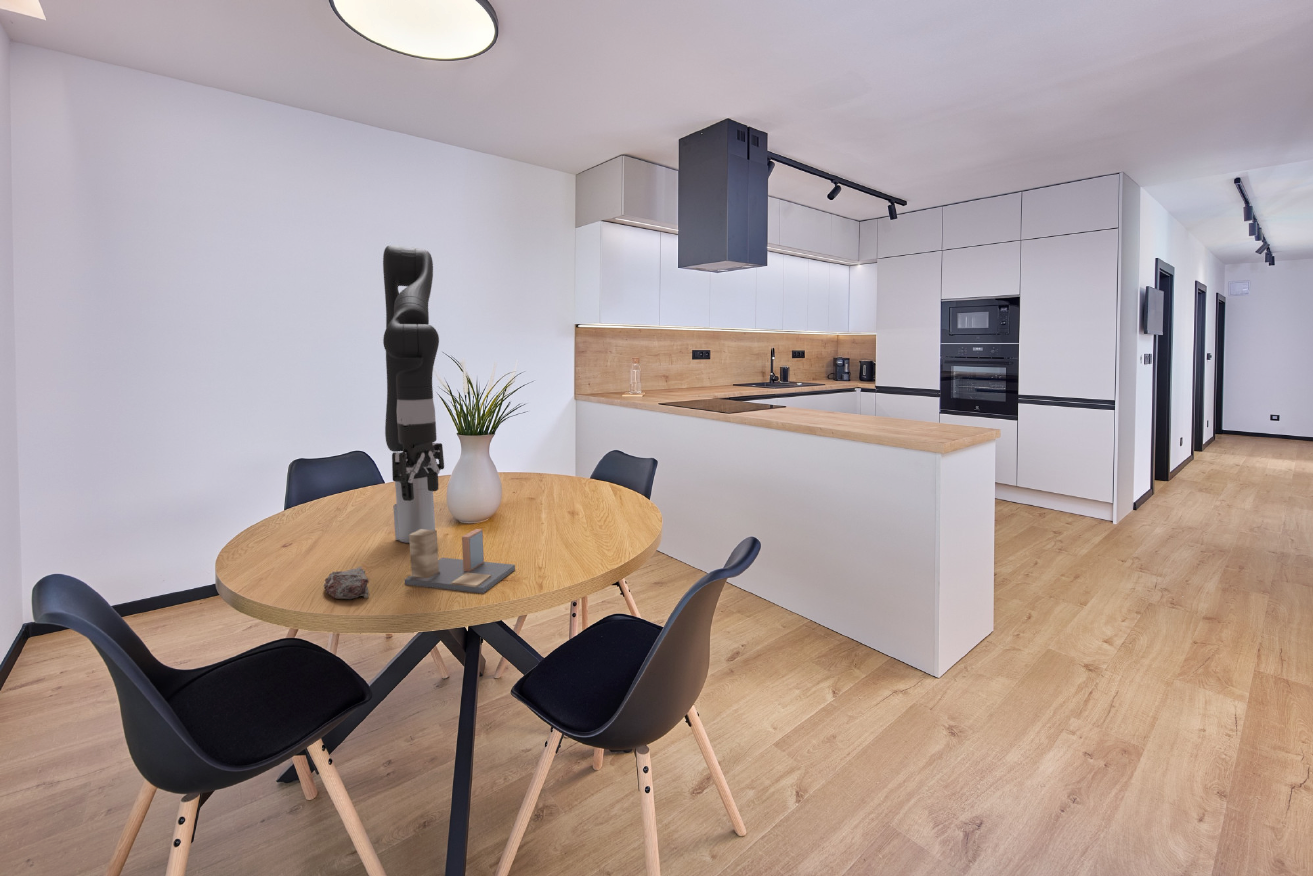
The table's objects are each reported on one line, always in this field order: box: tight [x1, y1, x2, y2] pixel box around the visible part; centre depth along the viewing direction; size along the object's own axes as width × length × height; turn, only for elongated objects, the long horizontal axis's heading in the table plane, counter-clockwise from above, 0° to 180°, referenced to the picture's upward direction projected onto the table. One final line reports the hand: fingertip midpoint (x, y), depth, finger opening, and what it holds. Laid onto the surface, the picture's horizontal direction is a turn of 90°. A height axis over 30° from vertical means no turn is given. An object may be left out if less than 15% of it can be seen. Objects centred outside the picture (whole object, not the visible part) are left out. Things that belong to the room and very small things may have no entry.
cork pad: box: [451, 572, 491, 587], centre depth 129 cm, size 6×6×1 cm
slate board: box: [403, 557, 516, 594], centre depth 134 cm, size 19×14×1 cm
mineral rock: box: [323, 566, 370, 600], centre depth 126 cm, size 15×8×4 cm, turn 32°
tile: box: [461, 528, 485, 572], centre depth 137 cm, size 2×6×8 cm, turn 166°
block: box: [409, 529, 440, 581], centre depth 130 cm, size 4×4×10 cm
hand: (421, 495), depth 129 cm, fingers open, 8 cm apart
